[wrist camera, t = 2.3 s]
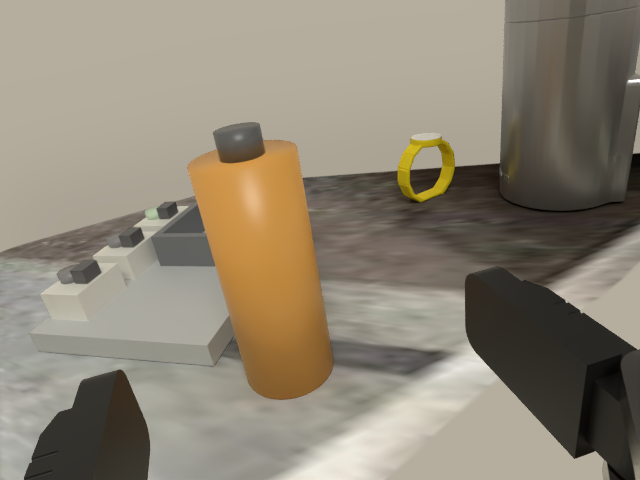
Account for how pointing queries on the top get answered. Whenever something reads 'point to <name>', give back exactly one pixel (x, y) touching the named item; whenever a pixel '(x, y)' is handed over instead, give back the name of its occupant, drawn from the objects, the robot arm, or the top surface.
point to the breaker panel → (142, 296)
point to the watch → (407, 159)
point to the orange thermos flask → (265, 259)
